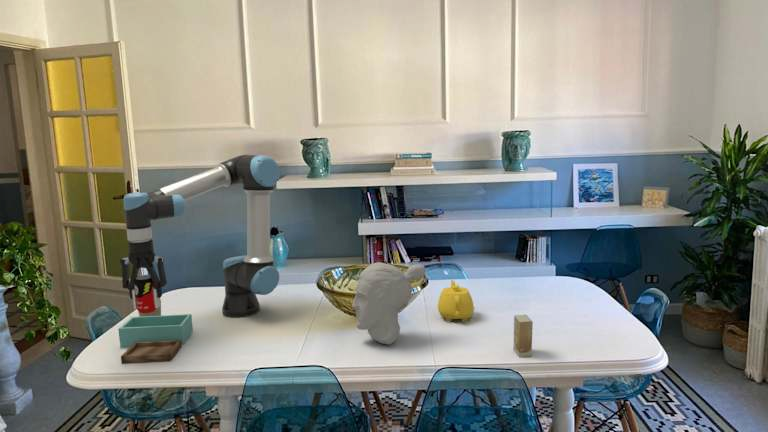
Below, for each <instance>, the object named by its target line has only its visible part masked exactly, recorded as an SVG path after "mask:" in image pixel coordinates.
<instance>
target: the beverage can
mask: <svg viewBox="0 0 768 432" xmlns="http://www.w3.org/2000/svg"><path fill="white" fill-rule="evenodd" d="M134 285H135V287H134V288H135V294H136V303H137V309H136V310H137V312H138V311H139V312H140V313H144V314H145V313H151V312H154V311H155V310H156V309H157V308H155V300H154V290H153V289H155V288H156V287H155V285H154V283H153V281H152V279H151V276H150V274H141V275H137V277H136V281H135V283H134ZM139 312H138V313H139Z"/></svg>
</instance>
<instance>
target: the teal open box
mask: <svg viewBox="0 0 768 432" xmlns="http://www.w3.org/2000/svg"><path fill="white" fill-rule="evenodd" d="M193 328H194V326H193V319H192V314H190V313H189V314H187V313H186V314H169V315H167V314H166V315H165V314H163V315H162V314H161V316H140V317H139V316H131V317H130V318H128V319H127V320H126V321H125V322H124V323H123V324H122V325H121V326H120V327H118V335H119V337H118V339H119V346H120V348H130V347H131V346H132V345H133V344H134V343H135V342H150V341H171V340H181V344H182V346H183V345H184V344H185V343H186V341H188V339H189V338H190V337H191V335H192V334H193V333H194V329H193Z"/></svg>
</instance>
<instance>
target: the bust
mask: <svg viewBox="0 0 768 432" xmlns="http://www.w3.org/2000/svg"><path fill="white" fill-rule="evenodd" d="M425 274H426V267H425V266H424V265H423V264H418V263H416V264H411V266H409V267H408V268H407V270H406V271H403V270H402V269H400V268H399V267H397V266H395V265H392V264H388V263H385V262H378V261H377V262H375V263H372V264H370V265H368V266H367V267H365V268H364V269H363V270H362V271H361V273H360V275H359V276H358V280H357V282H356V288H355V296H354V299H353V301H352V304H351V308H353V310H355V313H354V314H355V317H356V319H357V320H356V325H355V326H356V328H357V329H358V330H362V331H364V330H367V333H368V335H370V338H371V339H373V340H374V341H377V342H379V343H380V344H383V345H392V343H394V342H395V341H397V339H398V338H399V335H400V332H401V326H400V323H399V311H400V309H401V308H403V307H404V306H405V305H406V304H407V303H408V301H409V299H411V296H412V292H413V287H412V281H419V280H421V279H423V277H424V276H425Z"/></svg>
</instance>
